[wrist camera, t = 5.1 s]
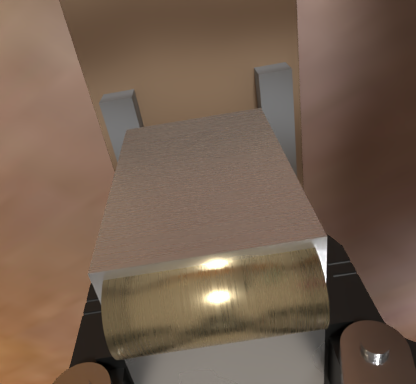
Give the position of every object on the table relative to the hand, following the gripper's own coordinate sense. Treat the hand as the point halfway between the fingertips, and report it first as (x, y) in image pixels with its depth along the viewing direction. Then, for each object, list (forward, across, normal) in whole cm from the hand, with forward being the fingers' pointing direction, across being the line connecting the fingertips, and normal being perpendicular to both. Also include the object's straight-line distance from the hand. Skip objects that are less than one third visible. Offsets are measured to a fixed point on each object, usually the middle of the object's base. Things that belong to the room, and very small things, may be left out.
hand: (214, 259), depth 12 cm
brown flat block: (+9, 0, 0) cm, 9 cm away
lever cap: (+2, 0, 0) cm, 2 cm away
